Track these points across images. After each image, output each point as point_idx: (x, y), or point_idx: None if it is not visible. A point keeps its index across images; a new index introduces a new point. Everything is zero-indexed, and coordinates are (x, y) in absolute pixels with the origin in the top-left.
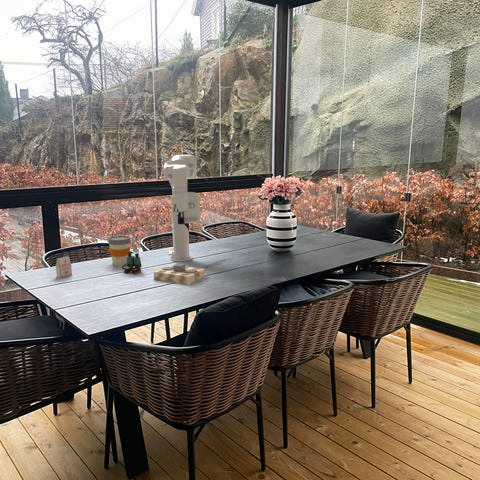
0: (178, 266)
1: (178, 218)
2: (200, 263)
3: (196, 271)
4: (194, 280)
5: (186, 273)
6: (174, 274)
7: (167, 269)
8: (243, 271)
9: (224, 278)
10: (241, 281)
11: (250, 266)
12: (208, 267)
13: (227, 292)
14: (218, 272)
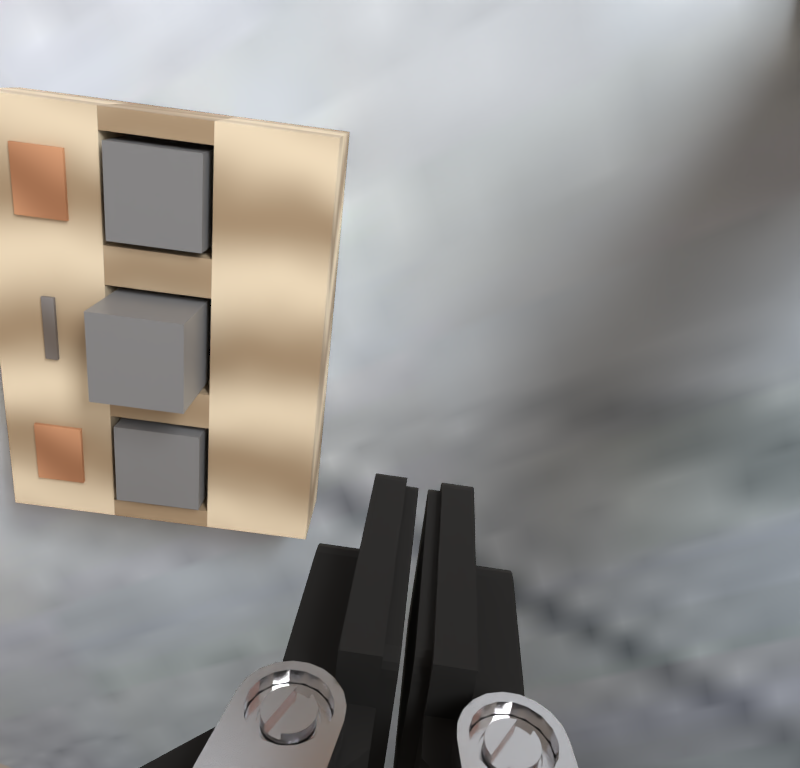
0: (89, 373)
1: (289, 652)
2: (767, 303)
3: (192, 504)
4: None
5: (79, 453)
6: (5, 356)
7: (105, 215)
8: None
9: None
10: None
11: (710, 721)
12: (614, 433)
13: (24, 732)
14: None
